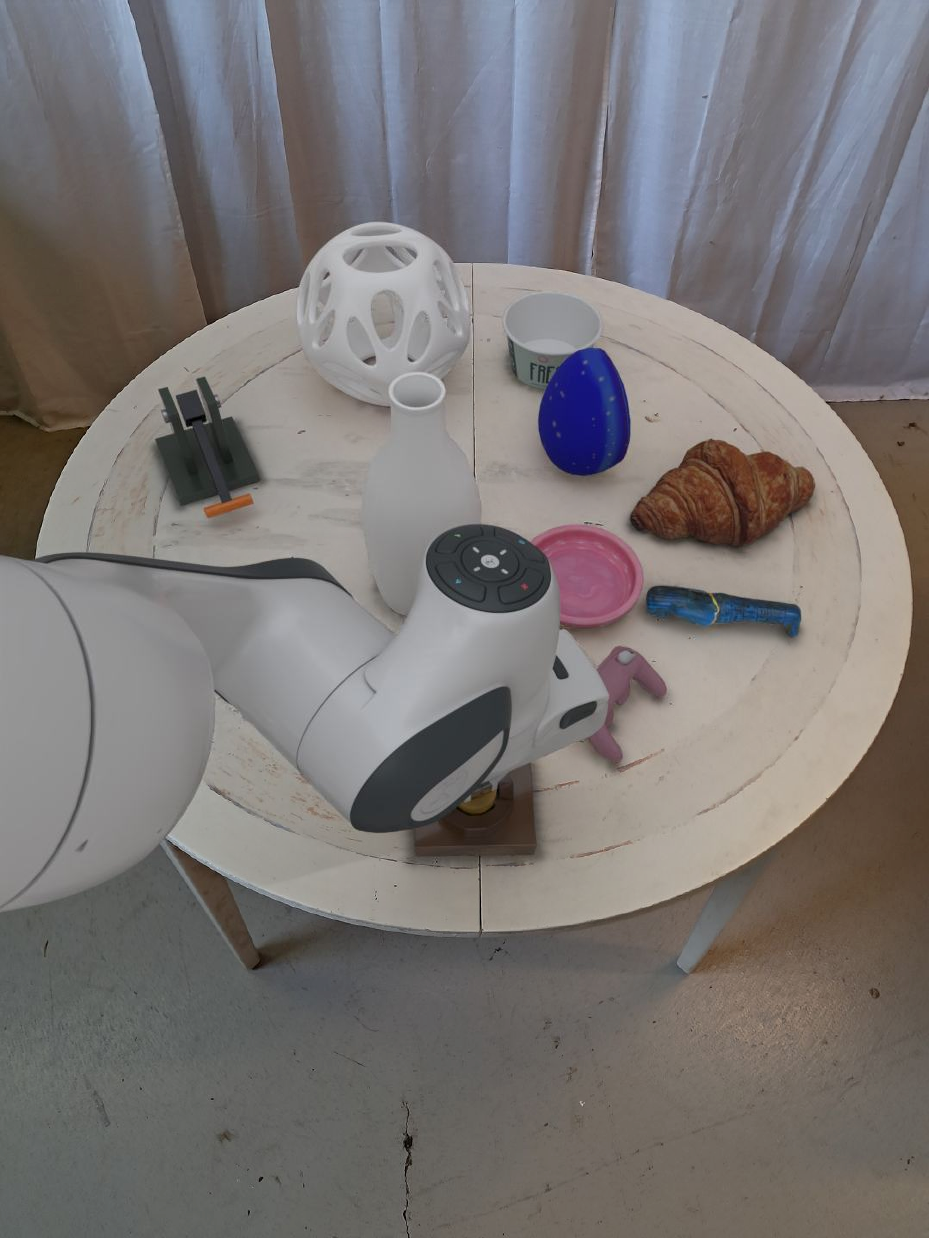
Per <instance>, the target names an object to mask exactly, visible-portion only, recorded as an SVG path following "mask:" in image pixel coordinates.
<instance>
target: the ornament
mask: <svg viewBox="0 0 929 1238" xmlns="http://www.w3.org/2000/svg"><path fill="white" fill-rule="evenodd" d="M537 416H538V417H537V418H538V419H537V430H538V435H539V439H540V443H541V446H542V448H543V450H544V452H545V454H546V456H547V458H548V459H549V461H550V462H551V463H552V464H553V465H554V466H555V467H556V468H558V469H559V470H560V471H562V472H564V473H566V474H570V475H573V476H580V477H587V476H594V475H598V474H601V473H604V472H606V471H607V470H610V469H613V467H615V466H617V465H618V464H620V463H621V462H622V461H623V460H624V459H625V457H626V456H627V452H628V449H629V445H630V443H631V429H632V428H631V427H632V423H631V415H630V405H629V400H628V395H627V392H626V388H625V385H624V381H623V380H622V377H621V376H620V373H619V371H618V369H617V367H616V365H615V363H614V362H613V361H612V359H611V357H610V356H609V355H608V353H607V352H606V350H604V349H602V348H600V347H593V348H586V349H582V350H578V351H576V352H575V353H573V354H572V355H570V356H569V357H568V358H566V360H565V361H564V362H563V363H562V364H561V365H560V366H559V368H558V369H557V370H556V372H555V373H554V375H553V376H552V378H551V380H550V382H549V384H548V385H547V387H546V390H544V391H543V395H542V397H541V401H540V404H539V409H538V415H537Z"/></svg>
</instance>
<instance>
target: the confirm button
mask: <svg viewBox="0 0 929 1238" xmlns="http://www.w3.org/2000/svg"><path fill="white" fill-rule="evenodd" d="M496 792H497V789H496V790H494V791H491V792H489V793H487V794H484V795H482V796H480V797H478V798H476V799H474V800H471V801H469V802H467V803H465V802H464V801H463V802H462V803H461V804H460V805H459V806H457V809H458V810H459V811H460V812H462V813H464V814H466V815H468V816H481V815H484V814H486V813H487V812H489V811H490V810H491V809H492V807H493V806H494V804H495V800H496Z"/></svg>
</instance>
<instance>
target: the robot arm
mask: <svg viewBox="0 0 929 1238" xmlns="http://www.w3.org/2000/svg"><path fill="white" fill-rule="evenodd" d="M560 611H561V605H560V590H559V585H558V581H557V577H556V574H555V571H554V569H553V567H552V565H551V563H550V561H549V559H548V558H547V557H546V555H545V554H544V553H543V552H542V551H541V550H540V549H538V548H537V547H536V546H535V545H533V544H532V543H531V541H530V540H528V539H526V538H525V537H524V536H521V535H520V534H518V533H516V532H514V531H512V530H510V529H507V528H504V527H502V526H497V525H492V524H486V523H485V524H484V523H481V524H468V525H461V526H457V527H453V528H451V529H448V530H446V531H444V532H442V533H441V534H439V535H438V536H436V537H435V538H434V539H433V540H432V541H431V542H430V544H429V545H428V546H427V548H426V550H425V552H424V555H423V557H422V559H421V563H420V567H419V570H418V575H417V581H416V588H415V597H414V602H413V605H412V607H411V610H410V612H409V614H408V616H406V618H405V620H404V622H403V623H402V625H401V627H400V628H399V630H398V631H397V632H396V633H395V632H393V631H392V630H391V629H390V628H389V627H387V625H385V624H384V623H383V622H381V621H380V620H379V619H378V618H377V617H376V616H375V615H373V614H372V613H371V612H370V611H368V609H366V607H364V606H363V605H362V604H361V603H359V602H358V601H357V600H356V599H355V597H353V595H352V594H351V593H350V592H349V591H348V590H347V589H346V588H345V587H344V586H343V584H341V583H340V582H339V581H338V580H337V579H336V578H335V577H334V576H333V575H332V574H331V573H330V571H328V570H327V569H326V567H324V566H323V565H322V564H320V563H319V562H316V561H315V560H312V559H308V558H303V557H284V558H276V559H275V558H274V559H271V560H270V559H269V560H265V561H260V562H256V563H251V564H246V565H237V566H236V565H235V566H218V565H207V564H199V563H192V562H184V561H176V560H168V559H159V558H151V557H143V556H135V555H126V554H116V553H104V552H90V551H89V552H87V551H83V552H80V551H79V552H78V551H77V552H75V551H73V552H59V553H53V554H47V555H43V556H39V557H35V558H33V559H30V560H27V559H24V558H23V559H22V558H17V557H12V556H7V555H2V554H0V913H4V912H10V911H16V910H21V909H25V908H29V907H34V906H39V905H43V904H47V903H51V902H55V901H59V900H62V899H65V898H69V897H72V896H75V895H78V894H80V893H83V892H85V891H88V890H90V889H93V888H95V887H98V886H99V885H102V884H104V883H106V882H108V881H110V880H112V879H114V878H116V877H118V876H119V875H121V874H123V873H125V872H127V871H128V870H130V869H132V868H133V867H135V866H136V865H137V864H140V862H142V861H143V860H144V859H146V858H147V857H148V856H149V855H150V854H152V852H153V851H154V850H155V849H156V848H157V847H159V845H160V844H161V843H163V841H164V840H165V839H166V838H167V837H168V836H169V834H170V833H171V832H172V831H173V830H174V828H176V826H177V824H178V823H179V821H180V820H181V819H182V818H183V816H184V815H185V813H186V811H187V809H188V808H189V807H190V805H191V803H192V801H193V799H194V798H195V795H196V793H197V791H198V789H199V787H200V785H201V782H202V780H203V778H204V774H205V772H206V769H207V765H208V762H209V758H210V755H211V750H212V745H213V740H214V734H215V724H216V695H218V696H219V698H221V699H222V700H223V701H225V702H226V703H227V704H229V705H231V706H232V707H233V708H234V710H236V711H237V712H238V713H239V714H240V715H241V716H242V718H244V719H245V720H246V721H247V722H248V723H249V724H250V725H251V726H252V727H253V728H254V729H255V730H256V731H257V732H258V733H259V734H260V735H261V736H262V737H263V738H264V739H265V740H266V741H267V742H268V743H269V744H270V745H271V746H272V747H273V748H274V749H275V750H276V751H277V752H278V753H279V754H280V755H281V756H282V757H283V758H284V759H285V760H286V761H287V762H288V763H289V764H290V765H291V766H292V767H293V768H294V769H295V770H296V771H297V772H299V775H300V776H301V777H302V778H303V779H304V780H305V781H306V782H307V783H308V784H309V785H310V786H311V787H313V789H314V790H315V791H316V792H317V793H318V794H319V795H320V796H321V797H322V798H323V799H324V800H325V801H326V802H327V803H328V804H329V805H330V806H331V807H332V808H334V810H335V811H336V812H338V813H339V814H340V816H341V817H343V818H344V819H345V820H346V821H347V822H349V824H350V825H351V827H352V828H353V829H354V830H357V831H359V832H364V833H372V834H386V833H397V832H402V831H409V830H414V828H418V827H423V826H426V825H429V824H432V823H434V822H436V821H438V820H440V819H441V818H443V817H444V816H446V815H447V814H448V813H450V812H451V811H452V810H454V809H455V808H456V807H457V806H459V805H460V804H461V803H462V802H463V801H464V802H465V803H467V802H469V801H471V800H474V799H476V798H478V797H480V796H482V795H484V794H487V793H489V792H491V791H494V790H496V789H497V786H498V782H499V781H500V780H501V779H502V778H503V777H504V776H505V775H506V774H507V773H508V772H510V771H512V770H514V769H516V768H519V767H521V766H523V765H526V764H528V763H530V764H531V763H532V762H536V761H537V760H539V759H541V758H544V757H547V756H548V755H550V754H553V753H555V752H557V751H560V750H562V749H565V748H566V747H569V746H572V745H574V744H576V743H578V742H580V741H583V740H586V738H588V737H590V736H592V735H593V734H594V733H596V732H597V731H598V730H599V729H600V728H601V727H602V726H603V724H604V722H605V719H606V716H607V710H608V704H607V702H608V699H609V693H608V691H607V689H606V687H605V685H604V683H603V681H602V679H601V677H600V675H599V673H598V672H597V670H596V669H597V668H596V666H595V665H594V663H593V662H592V660H591V659H590V657H589V656H588V655H587V653H586V651H585V650H584V649H583V648H582V646H581V645H580V644H579V642H578V641H577V640H576V638H574V636H573V635H572V634H571V633H570V632H569V630H567V629H564V628H563V629H561V625H560Z"/></svg>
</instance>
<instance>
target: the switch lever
mask: <svg viewBox="0 0 929 1238" xmlns="http://www.w3.org/2000/svg"><path fill="white" fill-rule="evenodd" d="M199 395H200V394H199V393H198V390H197V389H193V390H190V391H186V392H182V393H179V394H176V395H175V400H176V404H177V406H178V408H179V411H180V414H181V416H182V419H183V422H184V425H185V428H190V427H191V428H193V430H194V432H195V435H196V438H197V440H198V443H199V445H200V448H201V451H202V453H203V456H204V458H205V461H206V464H207V466H208V469H209V471H210V474H211V477H212V479H213V482H214V485H215V487H216V490H217V492H218V494H217V495H218V498H219V500H220V502H217V503H214V504H211V505H207V506H205V507H203V511H204V514H205V516H206V519H209V520H210V519H212V518H214V517H217V516H221V515H224V514H226V513H227V514H228V513H230V512H233V511H236V510H240V509H243V508H245V507H249V506H251V505H253V504H254V500H253V498H252V495H251V493H246V494H243V495H239V496H236V497H232V495H231V493H230V490H228V487H227V485H226V482H225V479H224V477H223V474H222V472H221V469H220V466H219V464H218V461H217V459H216V456H215V453H214V451H213V448H212V445H211V443H210V440H209V438H208V435H207V432H206V430H205V427H204V424H205V423H206V422H207V421H208V419H207V415H206V412H205V408H204V405H203V402H202V400H201V397H200V396H199Z"/></svg>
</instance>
